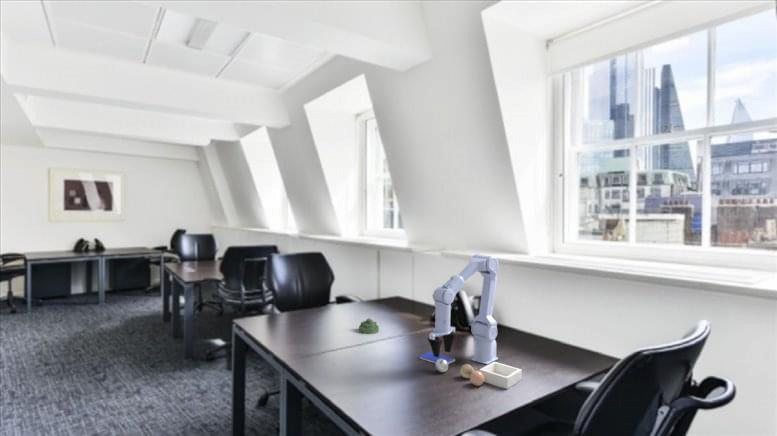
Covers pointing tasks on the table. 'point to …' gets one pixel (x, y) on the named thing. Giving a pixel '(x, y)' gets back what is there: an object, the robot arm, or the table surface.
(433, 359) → the hard drive
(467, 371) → the light oak ball
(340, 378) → the table surface
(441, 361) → the steel ball
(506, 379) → the off-white bin
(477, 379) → the terracotta ball
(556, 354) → the table surface
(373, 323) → the decorative artifact
